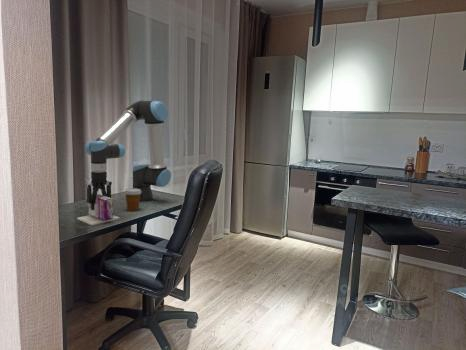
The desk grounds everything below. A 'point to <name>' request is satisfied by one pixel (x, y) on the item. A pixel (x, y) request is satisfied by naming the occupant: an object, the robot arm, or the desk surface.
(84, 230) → the desk surface
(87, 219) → the rubber mat
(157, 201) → the desk surface
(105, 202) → the candy bar box
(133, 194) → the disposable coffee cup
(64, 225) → the desk surface
